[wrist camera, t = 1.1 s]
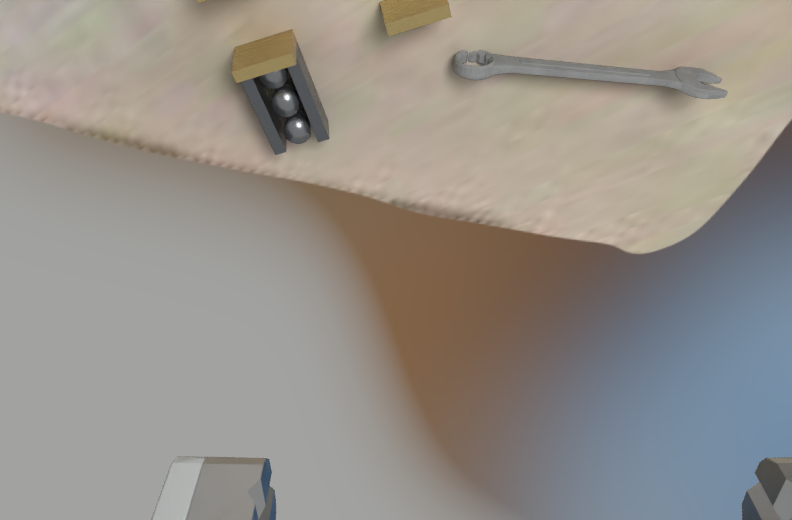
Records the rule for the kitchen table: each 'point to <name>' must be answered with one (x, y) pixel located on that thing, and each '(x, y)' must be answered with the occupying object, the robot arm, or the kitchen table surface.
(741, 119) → the kitchen table surface
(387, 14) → the ball bearing track
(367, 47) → the kitchen table surface
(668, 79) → the combination wrench
